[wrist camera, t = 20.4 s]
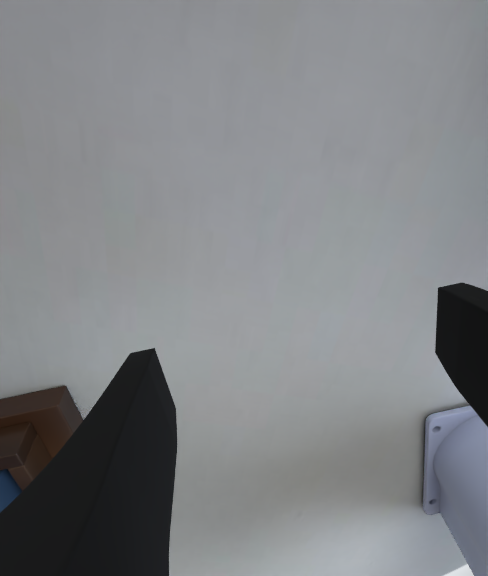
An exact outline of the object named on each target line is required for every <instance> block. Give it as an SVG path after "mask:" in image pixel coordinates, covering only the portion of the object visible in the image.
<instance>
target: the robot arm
mask: <svg viewBox="0 0 488 576" xmlns="http://www.w3.org/2000/svg"><path fill="white" fill-rule="evenodd" d="M435 353H436V355H437V356H438V358H439V360H440V362H441V363H442V365H443V367H444V369H445V370H446V372H447V374H448V375H449V377H450V379H451V380H452V382H453V383H454V385H455V386H456V388H457V389H458V390H459V392H460V393H461V394H462V396H463V397H464V398H465V399H466V401H467V402H468V403H469V404H470V406H465V407H461V408H456V409H451V410H447V411H442V412H437V413H433V414H431V415H429V416H428V417H427V419H426V429H425V459H424V488H423V509H424V511H425V513H426V514H428V515H433V514H437V513H441V515H442V517H443V519H444V521H445V522H446V524H447V526H448V528H449V530H450V532H451V534H452V535H453V537H454V539H455V541H456V543H457V545H458V546H459V548H460V550H461V552H462V554H463V556H464V558H465V559H466V561H467V563H468V565H469V567H470V569H471V570H472V572H473V574H474V576H488V291H486V290H484V289H481V288H478V287H475V286H472V285H469V284H465V283H458V284H453V285H449V286H444V287H439V288H438V304H437V326H436V349H435ZM176 455H177V424H176V408H175V405H174V402H173V399H172V396H171V393H170V391H169V388H168V385H167V382H166V379H165V376H164V374H163V371H162V368H161V365H160V362H159V360H158V357H157V354H156V351H155V348H153V349H148V350H143V351H139V352H134V353H130V355H129V356H128V357H127V359H126V360H125V362H124V363H123V365H122V366H121V368H120V369H119V371H118V372H117V373H116V375H115V376H114V378H113V379H112V381H111V382H110V384H109V385H108V387H107V388H106V390H105V391H104V393H103V394H102V395H101V397H100V398H99V400H98V401H97V402H96V404H95V405H94V407H93V408H92V410H91V411H90V412H89V414H88V415H87V416H86V418H85V419H84V420H83V422H82V423H81V424H80V425H79V427H78V428H77V429H76V430H75V432H74V433H73V434H72V436H71V437H70V438H69V439H68V441H67V442H66V443H65V445H64V446H63V447H62V448H61V449H60V451H59V452H58V453H57V454H56V455H55V457H54V458H53V459H52V460H51V461H50V462H49V463H48V464H47V466H46V467H45V468H44V469H43V470H42V471H41V472H40V473H39V474H38V475H37V476H36V478H35V479H34V480H33V481H32V482H31V483H30V484H29V485H28V486H27V487H26V488H25V489H24V490H23V491H22V492H21V493H20V494H19V495H18V496H17V497H16V498H15V499H14V500H13V501H12V502H11V503H10V504H9V505H8V506H7V507H6V508H5V509H4V510H3V511H2V512H1V513H0V576H169V539H170V525H171V514H172V502H173V491H174V480H175V467H176Z"/></svg>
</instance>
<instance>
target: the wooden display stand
mask: <svg viewBox="0 0 488 576" xmlns="http://www.w3.org/2000/svg"><path fill="white" fill-rule="evenodd" d="M82 422H83V419H82V417H81V415H80V413H79V411H78V409H77V407H76V405H75V403H74V401H73V399H72V397H71V395H70V393H69V391H68V389H67V387H66V386H61V387H56V388H51V389H47V390H42V391H37V392H32V393H28V394H23V395H18V396H14V397H9V398H4V399H0V470H4V469H8V471H9V472H10V474H11V475H12V477H13V478H14V480H15V481H16V483H17V484H18V486H19V487H20V489H21V490H22V491H23V490H24V489H25V488H26V487H27V486H28V485H29V484H30V483H31V482H32V481H33V480H34V479H35V478H36V476H37V475H38V474H39V473H40V472H41V471H42V470H43V469H44V468H45V467H46V466H47V464H48V463H49V462H50V461H51V460H52V459H53V458H54V457H55V455H56V454H57V453H58V452H59V451H60V449H61V448H62V447H63V446H64V445H65V443H66V442H67V441H68V439H69V438H70V437H71V436H72V434H73V433H74V432H75V430H76V429H77V428H78V427H79V425H80V424H81V423H82Z"/></svg>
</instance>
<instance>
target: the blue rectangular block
mask: <svg viewBox="0 0 488 576" xmlns="http://www.w3.org/2000/svg"><path fill="white" fill-rule="evenodd" d="M21 492H22V490H21V489H20V487H19V486H18V484H17V483H16V481H15V480H14V478H13V477H12V475H11V474H10V472H9V471H8V469H4V470H0V513H1V512H2V511H3V510H4V509H5V508H6V507H7V506H8V505H9V504H10V503H11V502H12V501H13V500H14V499H15V498H16V497H17V496H18V495H19V494H20V493H21Z"/></svg>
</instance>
